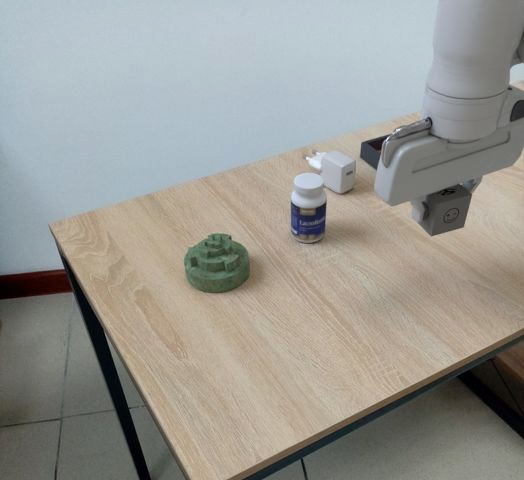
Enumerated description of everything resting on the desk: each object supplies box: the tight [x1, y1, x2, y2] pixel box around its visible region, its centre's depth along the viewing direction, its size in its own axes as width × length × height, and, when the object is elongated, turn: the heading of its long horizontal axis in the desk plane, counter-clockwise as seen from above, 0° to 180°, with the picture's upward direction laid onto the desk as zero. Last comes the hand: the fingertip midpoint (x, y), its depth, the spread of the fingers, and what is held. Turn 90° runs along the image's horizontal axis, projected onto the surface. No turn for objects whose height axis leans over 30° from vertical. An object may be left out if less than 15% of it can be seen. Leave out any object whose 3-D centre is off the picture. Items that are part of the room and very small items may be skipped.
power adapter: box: [301, 149, 357, 195], centre depth 97 cm, size 11×5×6 cm, turn 38°
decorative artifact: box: [183, 232, 251, 294], centre depth 81 cm, size 10×7×10 cm
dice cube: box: [416, 184, 473, 237], centre depth 71 cm, size 5×5×5 cm
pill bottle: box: [290, 172, 328, 244], centre depth 85 cm, size 6×6×10 cm
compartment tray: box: [359, 133, 392, 171], centre depth 100 cm, size 8×15×3 cm, turn 25°
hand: (439, 211), depth 71 cm, fingers closed on dice cube, 5 cm apart
